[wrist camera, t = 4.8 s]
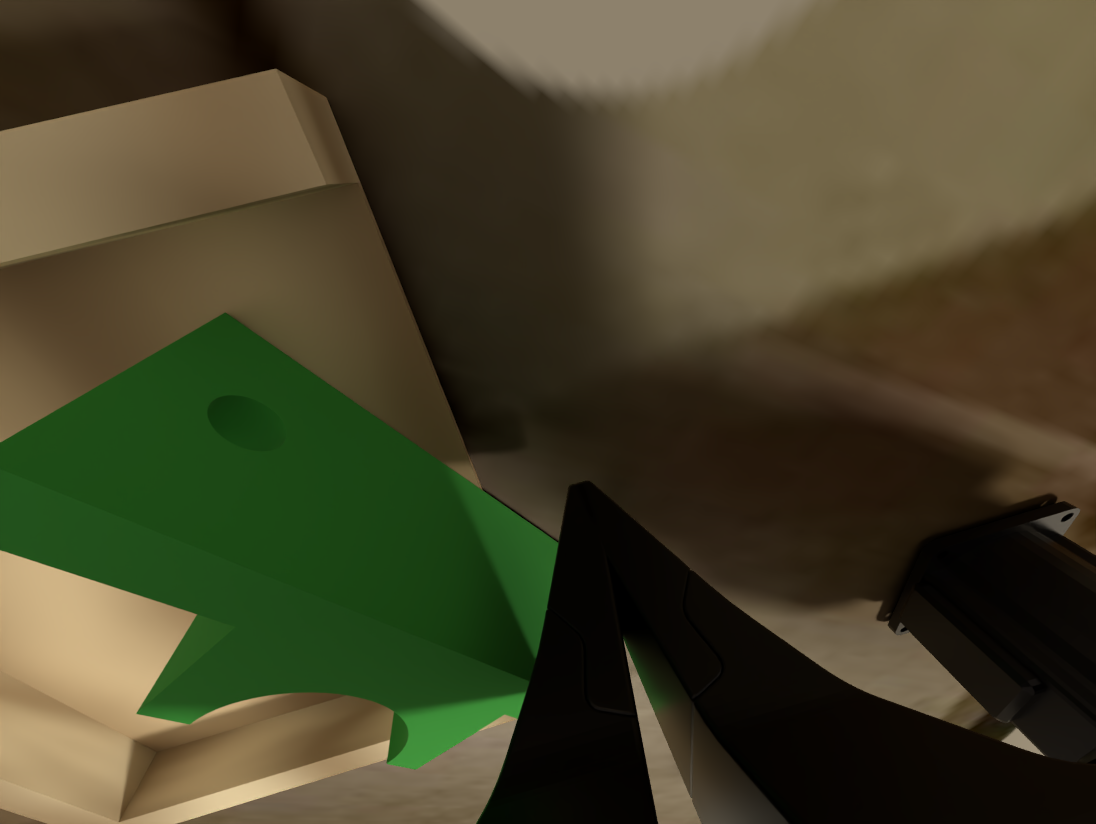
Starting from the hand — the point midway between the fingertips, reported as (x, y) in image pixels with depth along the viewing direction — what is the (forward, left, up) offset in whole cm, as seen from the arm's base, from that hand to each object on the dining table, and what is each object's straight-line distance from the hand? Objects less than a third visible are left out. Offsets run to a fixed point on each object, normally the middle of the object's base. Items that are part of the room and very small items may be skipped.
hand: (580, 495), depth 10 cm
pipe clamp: (+5, 0, -2) cm, 5 cm away
